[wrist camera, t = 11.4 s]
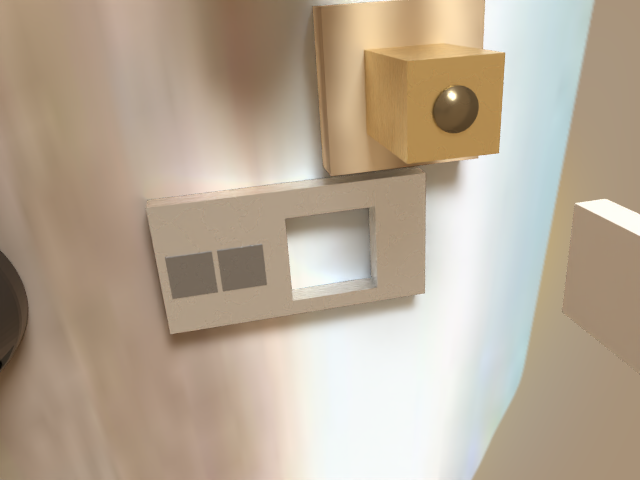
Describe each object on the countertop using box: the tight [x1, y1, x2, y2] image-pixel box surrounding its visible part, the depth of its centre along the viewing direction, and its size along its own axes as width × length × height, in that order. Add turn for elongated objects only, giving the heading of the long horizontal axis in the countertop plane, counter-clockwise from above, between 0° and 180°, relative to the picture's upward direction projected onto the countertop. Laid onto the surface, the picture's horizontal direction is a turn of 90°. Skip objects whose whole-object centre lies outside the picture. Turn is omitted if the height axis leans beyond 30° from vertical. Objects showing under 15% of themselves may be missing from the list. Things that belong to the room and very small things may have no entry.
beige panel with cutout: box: [146, 167, 426, 334], centre depth 48 cm, size 22×11×2 cm, turn 95°
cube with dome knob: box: [364, 43, 505, 164], centre depth 38 cm, size 6×6×9 cm
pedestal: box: [313, 0, 485, 176], centre depth 44 cm, size 12×12×3 cm
